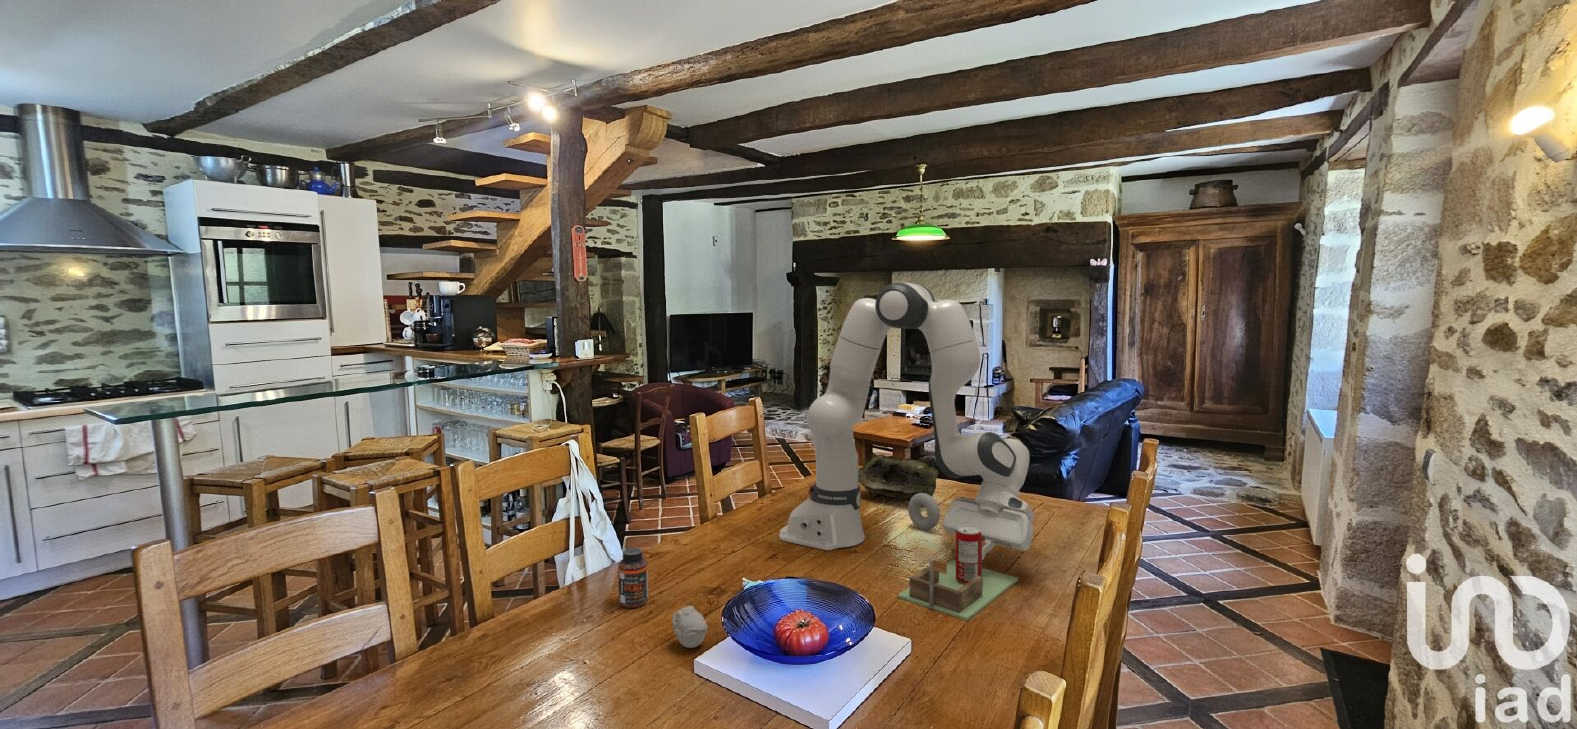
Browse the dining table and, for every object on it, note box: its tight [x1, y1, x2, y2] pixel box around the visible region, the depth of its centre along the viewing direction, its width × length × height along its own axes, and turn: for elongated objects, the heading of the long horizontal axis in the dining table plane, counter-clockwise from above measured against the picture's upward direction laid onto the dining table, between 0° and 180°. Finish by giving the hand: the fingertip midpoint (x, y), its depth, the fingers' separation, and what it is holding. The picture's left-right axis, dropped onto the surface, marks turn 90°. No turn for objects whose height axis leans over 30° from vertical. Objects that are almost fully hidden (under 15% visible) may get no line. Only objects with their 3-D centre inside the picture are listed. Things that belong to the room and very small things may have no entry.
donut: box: [907, 493, 941, 531], centre depth 182 cm, size 10×4×10 cm, turn 40°
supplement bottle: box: [617, 547, 649, 609], centre depth 141 cm, size 6×6×11 cm
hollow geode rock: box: [858, 454, 940, 508], centre depth 208 cm, size 28×13×15 cm
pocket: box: [909, 557, 983, 613], centre depth 140 cm, size 12×11×10 cm
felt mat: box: [897, 559, 1019, 622], centre depth 146 cm, size 24×16×1 cm, turn 138°
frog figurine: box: [671, 605, 709, 649], centre depth 124 cm, size 6×7×7 cm
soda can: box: [955, 525, 983, 584], centre depth 148 cm, size 6×6×12 cm
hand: (975, 557), depth 151 cm, fingers closed, pressing on soda can
